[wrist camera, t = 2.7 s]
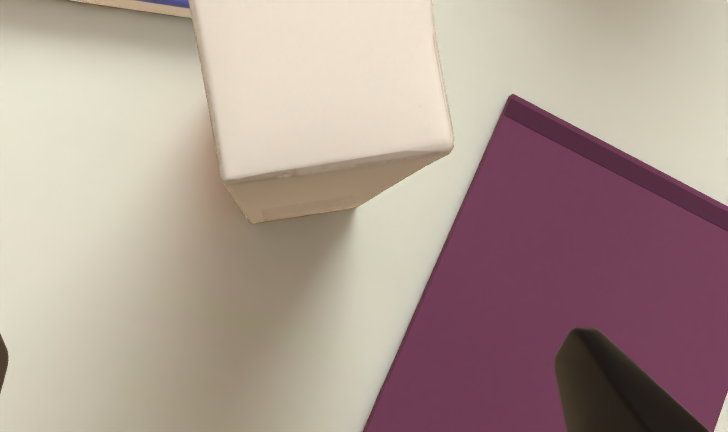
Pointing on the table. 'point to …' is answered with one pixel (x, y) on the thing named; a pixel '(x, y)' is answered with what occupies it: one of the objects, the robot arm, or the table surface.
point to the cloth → (561, 285)
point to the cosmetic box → (320, 99)
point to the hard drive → (149, 6)
